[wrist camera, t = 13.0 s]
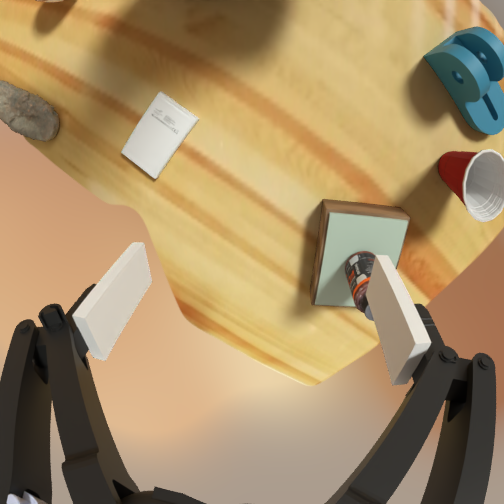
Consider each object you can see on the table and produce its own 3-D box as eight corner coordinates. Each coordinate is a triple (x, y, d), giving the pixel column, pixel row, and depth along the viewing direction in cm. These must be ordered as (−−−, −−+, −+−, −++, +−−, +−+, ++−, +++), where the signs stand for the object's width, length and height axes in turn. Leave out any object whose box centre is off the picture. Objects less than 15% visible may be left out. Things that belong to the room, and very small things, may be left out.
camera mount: (422, 56, 31) (455, 48, 22) (456, 31, 27) (490, 23, 18) (476, 142, 36) (512, 156, 27) (505, 115, 32) (540, 124, 23)
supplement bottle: (340, 255, 44) (354, 299, 34) (375, 244, 42) (398, 286, 33) (347, 284, 46) (360, 331, 37) (380, 275, 45) (400, 319, 35)
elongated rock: (-5, 68, 35) (-13, 104, 40) (-20, 71, 31) (-27, 108, 36) (68, 104, 39) (56, 149, 44) (49, 107, 35) (38, 156, 40)
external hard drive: (124, 150, 44) (162, 91, 39) (158, 177, 46) (200, 118, 41) (120, 152, 43) (158, 91, 38) (155, 179, 45) (197, 119, 40)
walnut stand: (322, 199, 45) (327, 209, 41) (400, 207, 44) (411, 218, 40) (310, 290, 54) (311, 306, 49) (378, 293, 53) (384, 309, 48)
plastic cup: (481, 170, 38) (520, 191, 28) (446, 207, 43) (481, 236, 32) (453, 123, 35) (495, 134, 25) (415, 162, 40) (451, 183, 29)
